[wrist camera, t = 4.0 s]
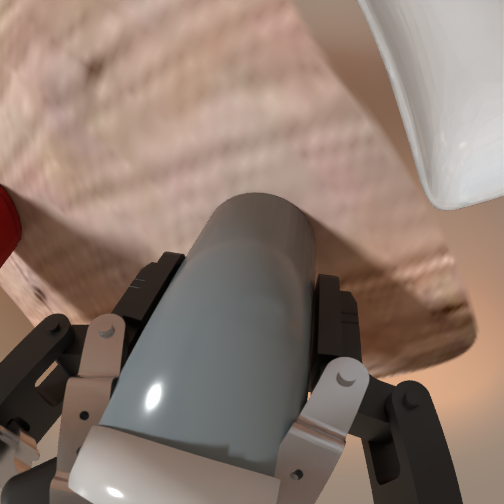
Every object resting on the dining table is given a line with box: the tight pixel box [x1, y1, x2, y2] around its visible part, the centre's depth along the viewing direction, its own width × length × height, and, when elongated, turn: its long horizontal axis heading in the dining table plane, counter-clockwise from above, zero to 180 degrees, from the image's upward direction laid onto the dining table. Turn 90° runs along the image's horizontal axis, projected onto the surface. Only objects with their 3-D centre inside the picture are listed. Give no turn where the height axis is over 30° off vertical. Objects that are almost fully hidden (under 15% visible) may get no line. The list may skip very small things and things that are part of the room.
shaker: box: [68, 193, 315, 504], centre depth 9 cm, size 5×5×12 cm
